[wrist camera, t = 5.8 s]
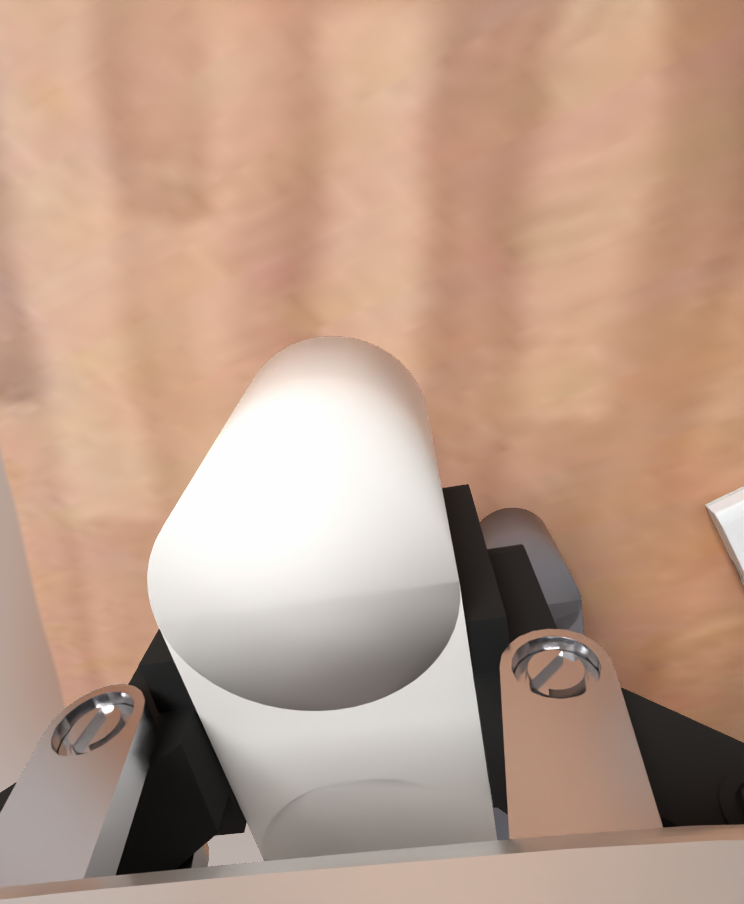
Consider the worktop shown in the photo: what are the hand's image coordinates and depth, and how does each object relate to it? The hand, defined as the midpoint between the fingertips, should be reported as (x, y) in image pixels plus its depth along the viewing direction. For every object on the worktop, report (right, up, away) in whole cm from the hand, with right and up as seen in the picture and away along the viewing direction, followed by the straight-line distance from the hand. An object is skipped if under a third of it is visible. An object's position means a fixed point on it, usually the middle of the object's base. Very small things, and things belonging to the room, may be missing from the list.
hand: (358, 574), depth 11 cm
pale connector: (0, +1, +1) cm, 1 cm away
